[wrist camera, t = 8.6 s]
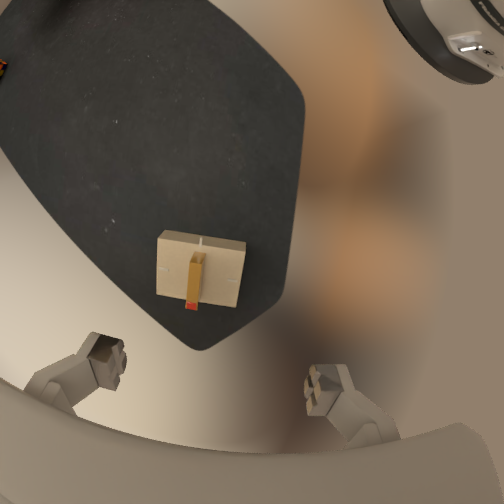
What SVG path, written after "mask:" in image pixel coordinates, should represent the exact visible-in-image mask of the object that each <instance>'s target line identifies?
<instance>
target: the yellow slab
mask: <svg viewBox="0 0 504 504" xmlns="http://www.w3.org/2000/svg"><path fill="white" fill-rule="evenodd" d="M205 258H206V253H202V252H196V251H194V253H193V256H192V258H191V260H190V262H189V272H188V283H187V295H186V308H187V309H192V310H197V309H198V305H199V302H200V298H201V291H202V282H203V274H204V266H205Z"/></svg>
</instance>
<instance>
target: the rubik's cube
mask: <svg viewBox="0 0 504 504" xmlns="http://www.w3.org/2000/svg"><path fill="white" fill-rule="evenodd" d="M6 66H7V63H5V62H4V61H2V60H1V59H0V76H2V74H3V72H4V70H5V68H6Z"/></svg>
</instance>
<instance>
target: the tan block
mask: <svg viewBox="0 0 504 504" xmlns="http://www.w3.org/2000/svg"><path fill="white" fill-rule="evenodd" d="M194 251H196V252H202V253H206V258H205V266H204V274H203V282H202V291H201V298H200V302H204V303H210V304H216V305H223V306H229V307H236V304H237V298H238V292H239V287H240V281H241V275H242V270H243V264H244V259H245V253H246V242H241V241H234V240H228V239H221V238H215V237H209V236H202V235H196V234H189V233H183V232H176V231H169V230H164V232H163V233H162V234H161V235H160V236H159V237H158V245H157V294H159V295H164V296H169V297H175V298H180V299H186V295H187V283H188V272H189V262H190V260H191V258H192V256H193V253H194Z"/></svg>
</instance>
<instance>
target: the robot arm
mask: <svg viewBox="0 0 504 504" xmlns="http://www.w3.org/2000/svg"><path fill="white" fill-rule="evenodd" d="M420 2H421V5H422V7H423V9H424V11H425V13H426V15H427V16H428V18H429V19H430V21H431V22H432V24H433V25H434V26H435V28H436V29H437V30H438V31H439V33H440V34H441V35H442V37H443V39H444V41H445V43H446V45H447V47H448V49H449V51H450V52H451V53H452V54H454V55H456V56H458V57H460V58H462V59H464V60H466V61H468V62H470V63H472V64H474V65H476V66H478V67H480V68H482V69H483V70H485V71H487V72H489V73H490V74H492V75H494V76H496V77H497V78H502V77H503V76H504V0H420ZM123 348H124V343H123V341H122V340H121V339H117V338H113V337H110V336H106V335H103V334H99V333H95V332H91V333H90V334H89V335H88V337H87V338H86V340H85V342H84V343H83V344H82V346H81V348H80V349H79V351H78V352H77V354H76V355H74V354H72V355H70V356H68V357H66V358H64V359H62V360H60V361H58V362H56V363H54V364H52V365H50V366H47V367H45V368H43V369H41V370H39V371H37V372H35V373H34V375H33V376H32V378H31V379H30V381H29V382H28V384H27V385H26V387H25V389H24V390H21V389H19V388H17V387H15V386H14V385H12V384H10V383H9V382H7V381H5V380H3V379H2V378H0V504H504V501H503V496H502V492H501V487H500V483H499V479H498V476H497V473H496V470H495V467H494V464H493V461H492V458H491V456H490V453H489V450H488V448H487V445H486V443H485V441H484V439H483V438H482V436H481V435H480V434H478V433H477V432H476V431H474V430H473V429H471V428H470V427H468V426H467V425H465V424H463V423H455V424H452V425H449V426H446V427H443V428H440V429H437V430H434V431H430V432H427V433H424V434H420V435H417V436H413V437H409V438H405V439H401V438H400V435H399V432H398V430H397V427H396V425H395V422H394V419H393V418H392V417H390V416H389V415H388V414H386V413H385V412H384V411H383V410H381V409H380V408H379V407H378V406H376V405H375V404H374V403H373V402H371V401H370V400H369V399H368V398H366V397H365V396H364V395H363V394H362V393H360V392H359V391H355V388H354V385H353V383H352V380H351V377H350V374H349V372H348V369H347V366H346V365H344V364H335V365H333V364H324V365H323V364H313V365H312V366H311V367H310V370H309V371H310V375H308V376H307V377H306V380H305V382H304V396H305V397H306V398H307V399H308V401H307V403H306V407H307V412H308V416H326V417H327V418H328V419H329V421H330V422H331V423H332V424H333V425H334V426H335V427H336V429H338V431H339V432H340V433H341V434H342V435H343V436H344V437H345V439H346V440H347V441H348V442H349V443H348V444H347V445H346V446H345V447H344V448H343V450H337V451H327V452H314V453H297V454H296V453H294V454H261V453H259V454H258V453H240V452H228V451H217V450H208V449H201V448H194V447H188V446H182V445H176V444H171V443H166V442H161V441H156V440H152V439H148V438H143V437H140V436H136V435H132V434H129V433H125V432H121V431H118V430H115V429H112V428H109V427H106V426H102V425H100V424H97V423H94V422H91V421H88V420H86V419H83V418H80V417H78V416H77V415H76V413H75V412H74V410H73V408H72V407H73V406H74V405H76V404H77V403H78V402H80V401H81V400H83V399H84V398H85V397H87V396H88V395H89V394H91V393H92V392H94V391H95V390H96V389H98V388H99V387H102V388H106V389H109V390H114V391H116V389H117V387H118V384H119V382H120V377H119V375H121V374H123V373H124V371H125V368H126V363H127V358H126V353H125V352H124V351H123Z"/></svg>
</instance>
